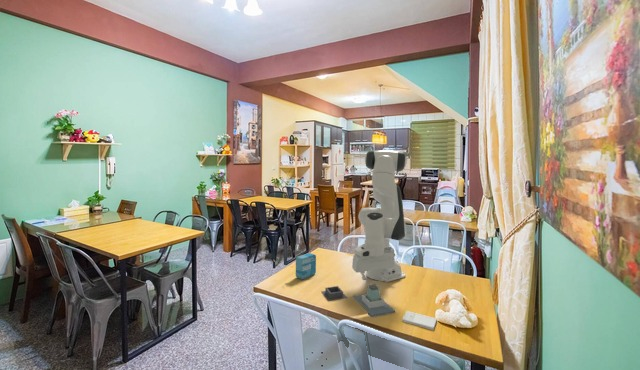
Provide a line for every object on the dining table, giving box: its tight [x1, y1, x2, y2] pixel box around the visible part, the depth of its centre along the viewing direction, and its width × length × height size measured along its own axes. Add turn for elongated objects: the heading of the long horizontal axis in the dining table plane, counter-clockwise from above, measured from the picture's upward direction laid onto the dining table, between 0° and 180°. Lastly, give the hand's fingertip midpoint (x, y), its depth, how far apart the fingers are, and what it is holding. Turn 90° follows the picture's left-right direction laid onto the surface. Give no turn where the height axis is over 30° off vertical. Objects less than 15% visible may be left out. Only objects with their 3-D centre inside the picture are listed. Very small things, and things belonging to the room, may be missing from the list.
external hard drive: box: [401, 310, 438, 331], centre depth 121 cm, size 2×8×12 cm
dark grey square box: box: [321, 285, 348, 302], centre depth 141 cm, size 10×10×4 cm
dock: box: [352, 293, 396, 318], centre depth 134 cm, size 12×18×4 cm, turn 19°
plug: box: [366, 284, 381, 302], centre depth 134 cm, size 4×4×8 cm
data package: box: [295, 252, 317, 280], centre depth 165 cm, size 12×4×12 cm, turn 138°
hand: (373, 278), depth 133 cm, fingers open, 8 cm apart
